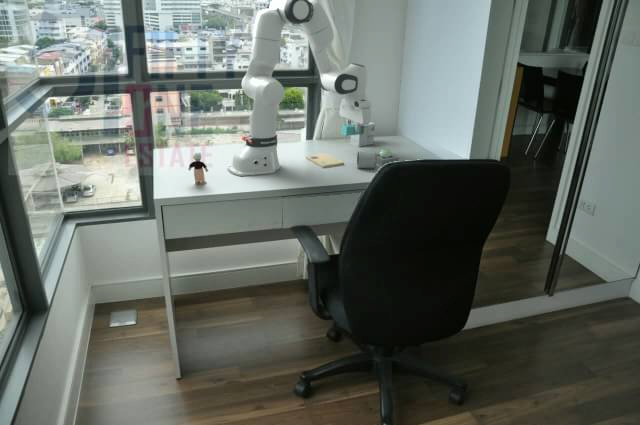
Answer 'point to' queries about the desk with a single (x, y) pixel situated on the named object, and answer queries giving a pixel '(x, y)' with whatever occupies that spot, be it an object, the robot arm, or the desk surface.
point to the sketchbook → (324, 160)
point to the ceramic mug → (366, 159)
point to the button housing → (386, 159)
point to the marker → (351, 129)
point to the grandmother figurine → (198, 169)
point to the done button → (385, 153)
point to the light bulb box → (364, 136)
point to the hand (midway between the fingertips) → (352, 130)
